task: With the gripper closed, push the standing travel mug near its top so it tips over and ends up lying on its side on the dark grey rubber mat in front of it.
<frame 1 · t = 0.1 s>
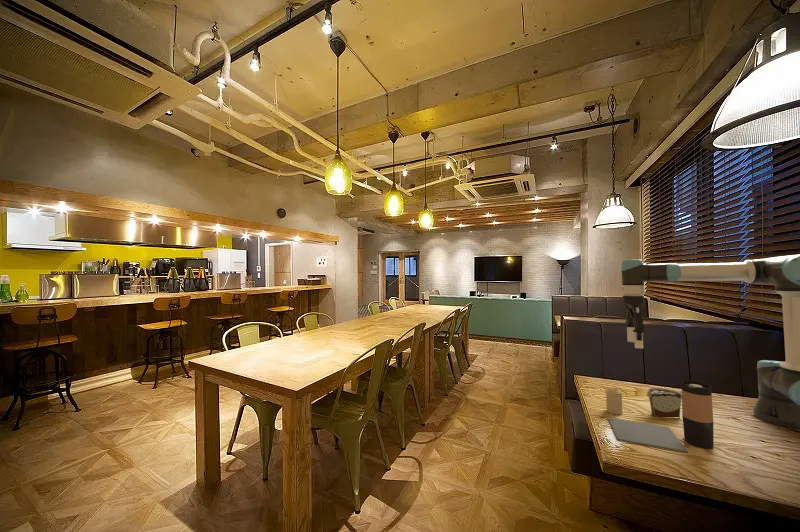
hand: (635, 344, 132), 28 cm above the table, tool pointing down, fingers open, 13 cm apart
travel mug: (698, 444, 105), on the table
food container: (661, 415, 127), on the table
mat: (644, 434, 112), on the table
candle: (614, 412, 130), on the table
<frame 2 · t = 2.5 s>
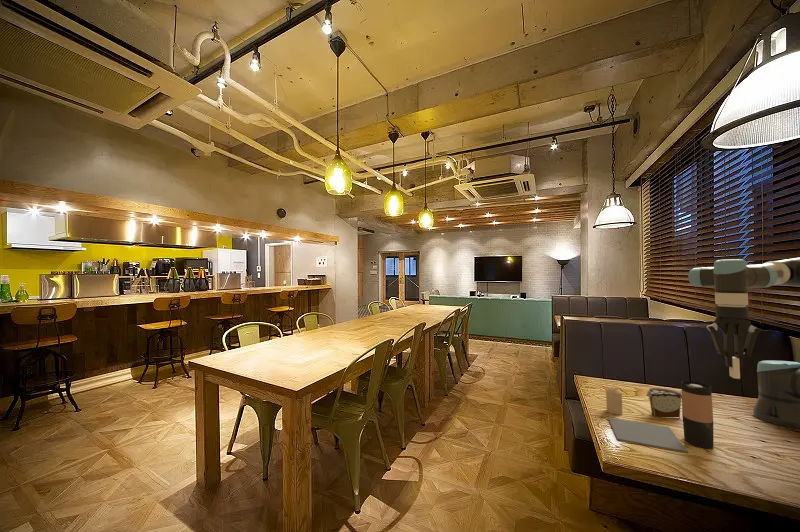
hand: (734, 377, 102), 24 cm above the table, tool pointing down, fingers closed
nothing on the table moved.
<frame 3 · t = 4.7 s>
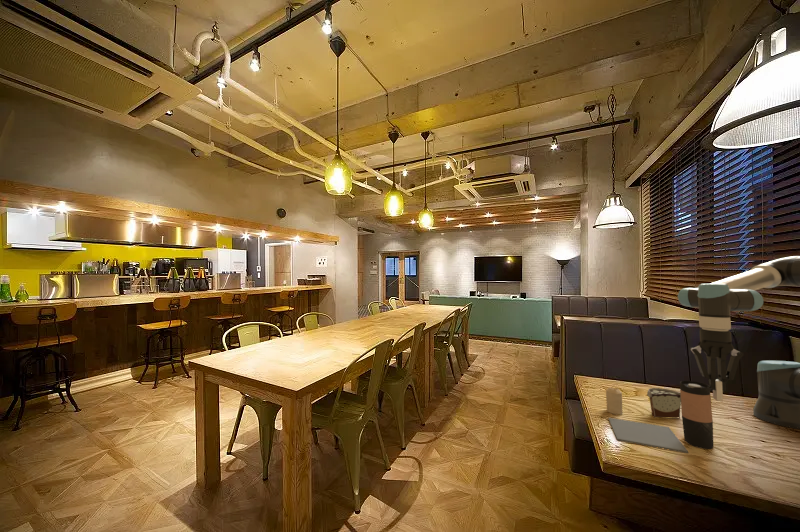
hand: (718, 399, 103), 16 cm above the table, tool pointing down, fingers closed
travel mug: (698, 444, 105), on the table, touching gripper
everything else where it was.
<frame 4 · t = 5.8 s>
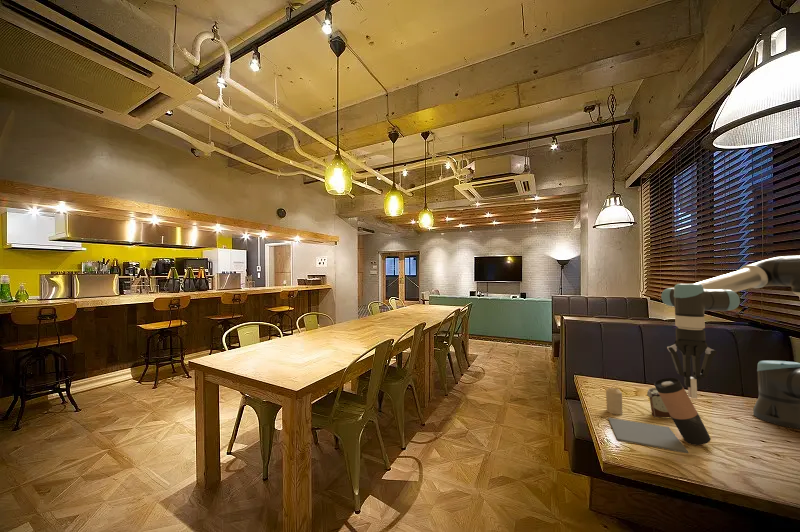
hand: (692, 396, 106), 16 cm above the table, tool pointing down, fingers closed
travel mug: (697, 439, 105), point 1 cm above the table
everything else where it was.
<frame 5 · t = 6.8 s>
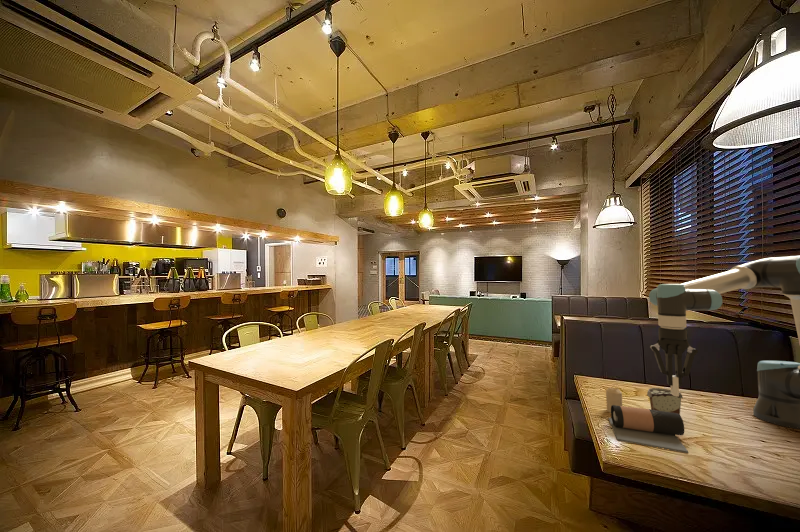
hand: (674, 394, 108), 16 cm above the table, tool pointing down, fingers closed
travel mug: (680, 424, 109), point 4 cm above the table, touching mat
everything else where it was.
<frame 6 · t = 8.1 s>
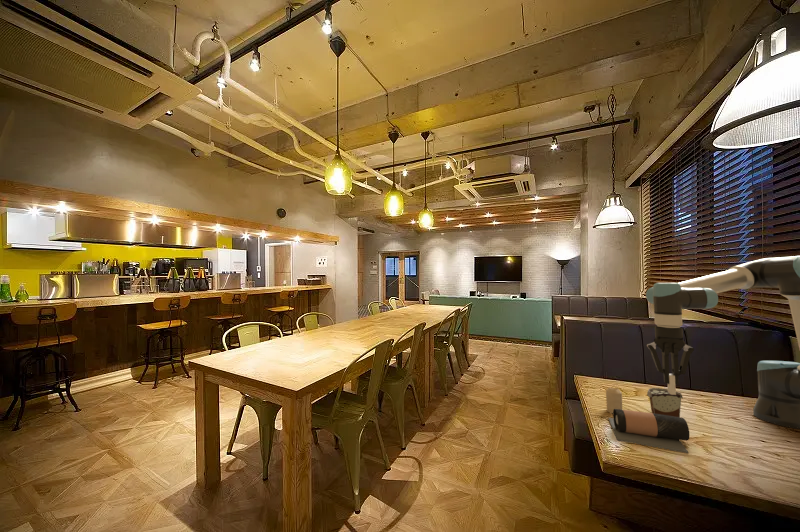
hand: (671, 393, 109), 16 cm above the table, tool pointing down, fingers closed
travel mug: (685, 429, 106), point 5 cm above the table, touching mat
everything else where it was.
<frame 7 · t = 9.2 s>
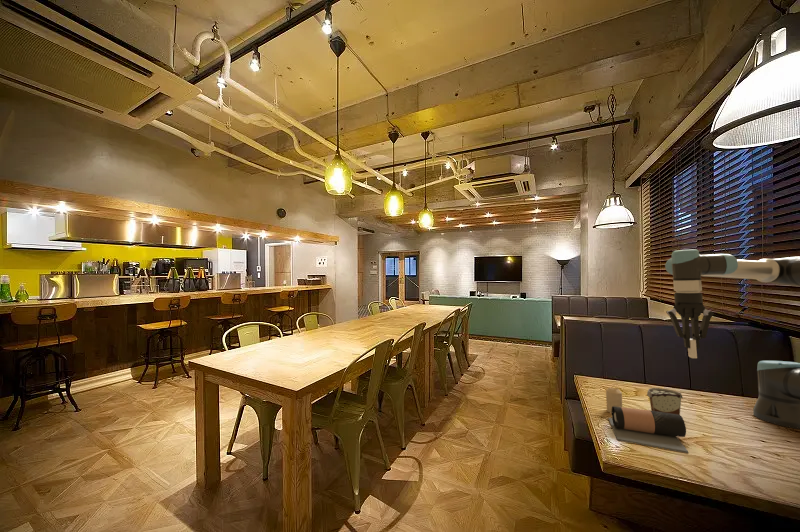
hand: (692, 357, 111), 28 cm above the table, tool pointing down, fingers closed
travel mug: (682, 425, 108), point 5 cm above the table, touching mat
everything else where it was.
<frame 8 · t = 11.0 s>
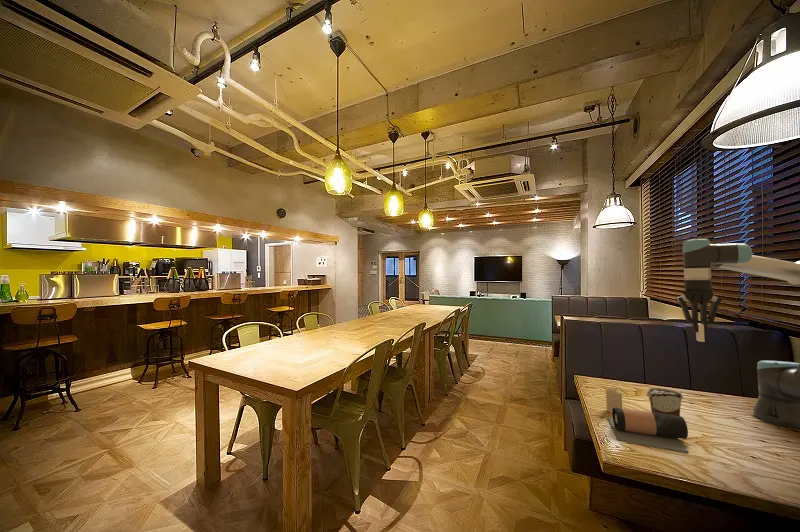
hand: (700, 341, 118), 32 cm above the table, tool pointing down, fingers closed
travel mug: (684, 427, 107), point 5 cm above the table, touching mat
everything else where it was.
at the end: travel mug tilted 91°; travel mug inside the target area (4.4 cm from its centre), point 4.5 cm above the table; travel mug touching mat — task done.
